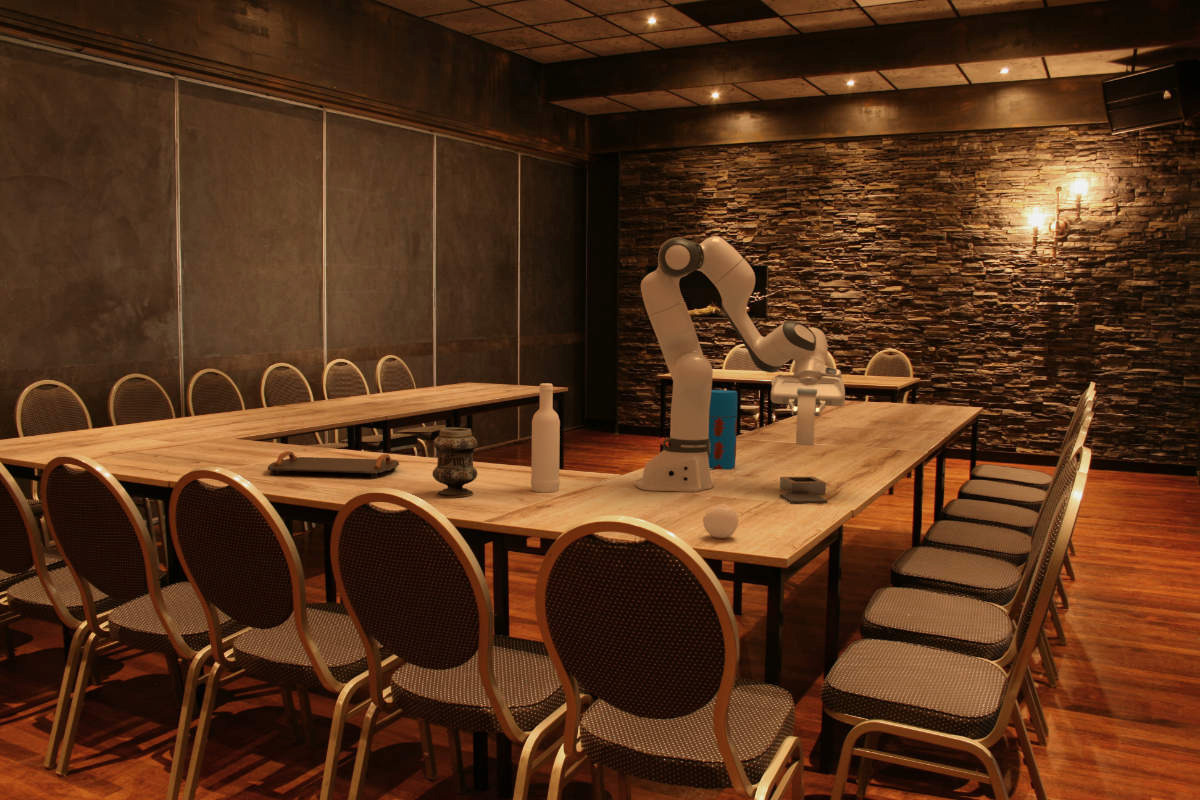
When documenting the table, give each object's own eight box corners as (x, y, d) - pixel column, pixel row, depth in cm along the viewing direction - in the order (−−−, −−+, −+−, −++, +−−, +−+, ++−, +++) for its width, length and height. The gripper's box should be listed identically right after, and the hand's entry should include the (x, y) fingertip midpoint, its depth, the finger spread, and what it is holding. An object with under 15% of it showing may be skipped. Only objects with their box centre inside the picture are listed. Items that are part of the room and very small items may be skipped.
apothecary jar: (484, 491, 269) (484, 427, 268) (466, 499, 258) (466, 432, 256) (443, 489, 273) (444, 425, 271) (425, 496, 261) (424, 430, 260)
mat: (791, 503, 259) (791, 500, 259) (779, 496, 269) (779, 493, 269) (827, 503, 261) (827, 500, 261) (814, 496, 271) (814, 493, 271)
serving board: (257, 477, 289) (257, 457, 289) (289, 465, 312) (289, 446, 311) (384, 481, 286) (384, 460, 285) (407, 469, 308) (407, 449, 308)
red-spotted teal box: (734, 470, 313) (736, 393, 310) (700, 469, 315) (702, 392, 313) (736, 465, 323) (738, 390, 321) (704, 463, 325) (706, 389, 323)
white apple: (727, 533, 224) (728, 499, 223) (744, 540, 217) (745, 506, 216) (696, 535, 221) (697, 502, 220) (713, 543, 214) (714, 508, 213)
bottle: (555, 493, 269) (556, 385, 266) (527, 491, 270) (528, 384, 268) (562, 488, 277) (563, 383, 274) (535, 486, 278) (536, 382, 276)
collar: (791, 495, 272) (791, 482, 271) (779, 488, 282) (780, 476, 281) (825, 494, 273) (825, 482, 273) (813, 488, 283) (813, 476, 283)
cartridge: (798, 445, 264) (801, 389, 263) (792, 443, 270) (794, 388, 268) (817, 445, 265) (820, 390, 264) (810, 443, 270) (813, 388, 269)
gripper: (771, 367, 275) (767, 405, 266) (846, 370, 269) (844, 408, 261) (772, 382, 280) (768, 419, 271) (846, 385, 274) (843, 423, 266)
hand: (805, 414), depth 266 cm, fingers closed on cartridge, 5 cm apart
